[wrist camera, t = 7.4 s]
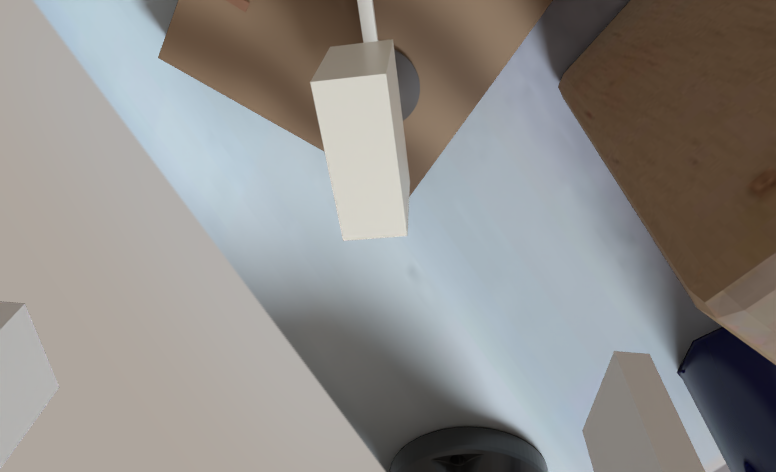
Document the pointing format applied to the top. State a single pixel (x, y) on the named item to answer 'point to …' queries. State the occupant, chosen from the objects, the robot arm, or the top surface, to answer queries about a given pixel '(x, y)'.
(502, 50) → the board
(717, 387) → the bottle
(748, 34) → the wooden block
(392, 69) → the cream block and rod
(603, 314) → the top surface
